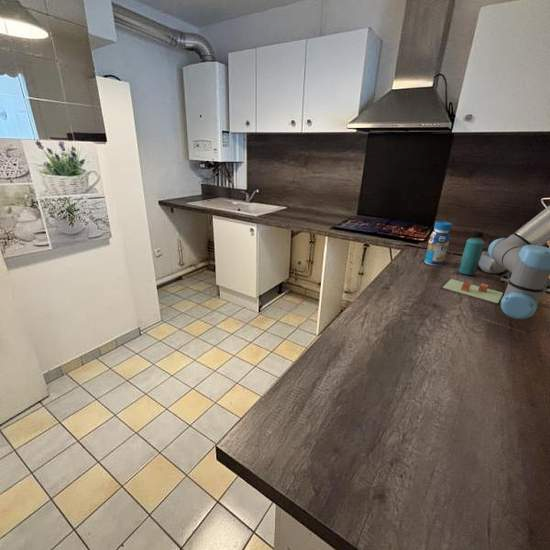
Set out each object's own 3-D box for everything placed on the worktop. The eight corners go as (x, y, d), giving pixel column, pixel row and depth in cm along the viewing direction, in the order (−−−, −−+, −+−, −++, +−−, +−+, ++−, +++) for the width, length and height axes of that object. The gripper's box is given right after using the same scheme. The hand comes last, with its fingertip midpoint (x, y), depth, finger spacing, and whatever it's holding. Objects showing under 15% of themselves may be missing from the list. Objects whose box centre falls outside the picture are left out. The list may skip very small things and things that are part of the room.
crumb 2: (487, 290, 111) (489, 285, 110) (485, 292, 110) (487, 286, 109) (479, 288, 113) (481, 283, 112) (478, 290, 111) (480, 284, 110)
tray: (502, 295, 111) (503, 292, 110) (497, 305, 103) (498, 303, 102) (450, 281, 122) (450, 278, 122) (441, 289, 114) (442, 287, 113)
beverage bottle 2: (476, 279, 125) (491, 233, 117) (460, 277, 126) (473, 232, 118) (470, 273, 131) (483, 229, 123) (454, 272, 132) (466, 228, 124)
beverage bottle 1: (426, 259, 147) (436, 220, 139) (444, 263, 142) (455, 222, 134) (421, 263, 141) (431, 222, 133) (440, 267, 136) (451, 225, 128)
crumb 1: (469, 289, 112) (471, 284, 111) (468, 291, 110) (470, 285, 109) (462, 287, 113) (464, 282, 112) (460, 289, 112) (462, 283, 111)
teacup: (481, 265, 141) (486, 249, 137) (508, 272, 133) (514, 255, 130) (470, 271, 132) (475, 255, 129) (498, 279, 125) (504, 262, 122)
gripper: (488, 293, 95) (499, 274, 111) (553, 311, 85) (555, 287, 101) (495, 272, 92) (506, 255, 108) (563, 287, 82) (564, 267, 98)
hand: (530, 271), depth 104 cm, fingers closed on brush, 3 cm apart
